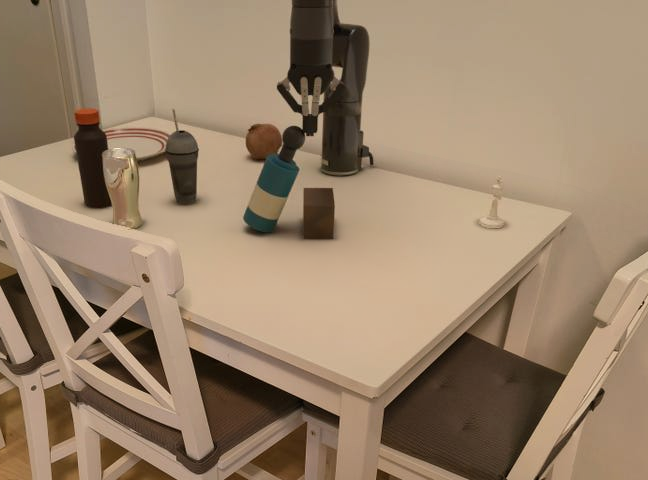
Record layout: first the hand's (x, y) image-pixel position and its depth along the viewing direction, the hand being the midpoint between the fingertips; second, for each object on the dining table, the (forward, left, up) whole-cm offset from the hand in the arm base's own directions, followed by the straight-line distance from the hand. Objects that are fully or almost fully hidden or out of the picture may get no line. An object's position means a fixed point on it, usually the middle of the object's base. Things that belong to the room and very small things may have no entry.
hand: (309, 135), depth 129 cm
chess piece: (-35, +17, -19) cm, 43 cm away
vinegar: (+31, -37, -19) cm, 52 cm away
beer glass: (+30, -22, -19) cm, 42 cm away
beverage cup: (+14, -28, -19) cm, 37 cm away
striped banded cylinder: (+3, -2, -18) cm, 19 cm away
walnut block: (-2, +1, -19) cm, 19 cm away
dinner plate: (+13, -70, -19) cm, 74 cm away
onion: (-17, -47, -19) cm, 54 cm away
